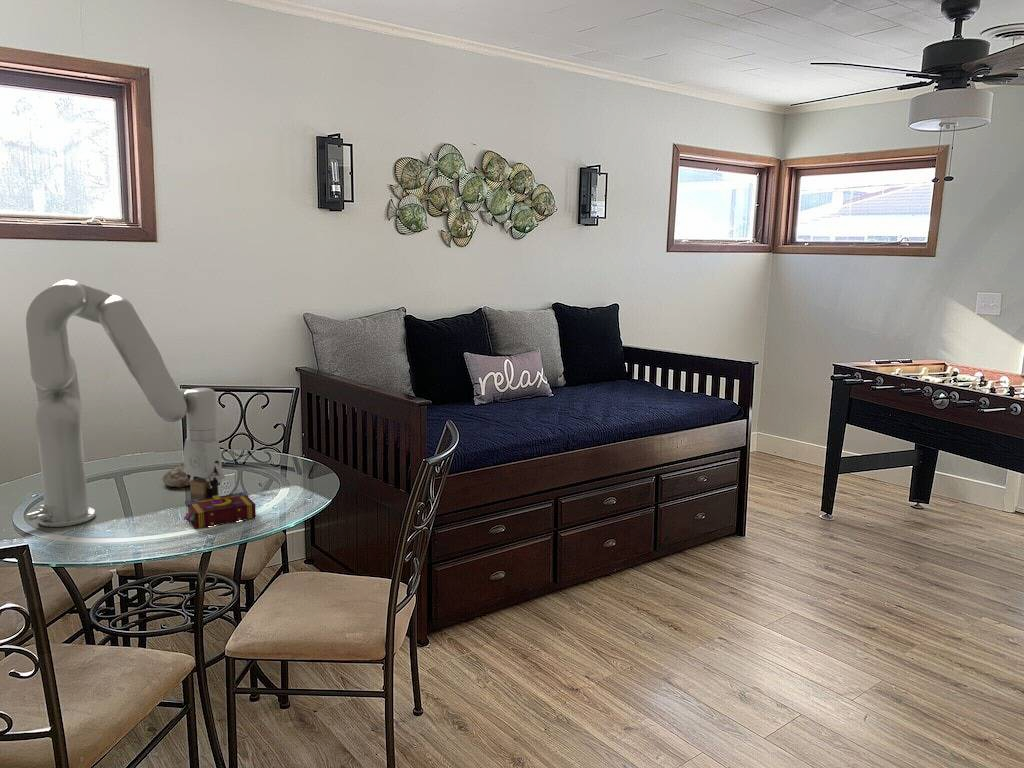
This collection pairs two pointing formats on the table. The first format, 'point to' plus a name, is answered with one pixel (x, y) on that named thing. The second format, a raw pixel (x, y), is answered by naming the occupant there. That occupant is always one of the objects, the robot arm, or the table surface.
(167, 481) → the fossil
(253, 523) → the table surface
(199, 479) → the walnut block
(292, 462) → the table surface
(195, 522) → the decorative book
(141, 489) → the table surface
